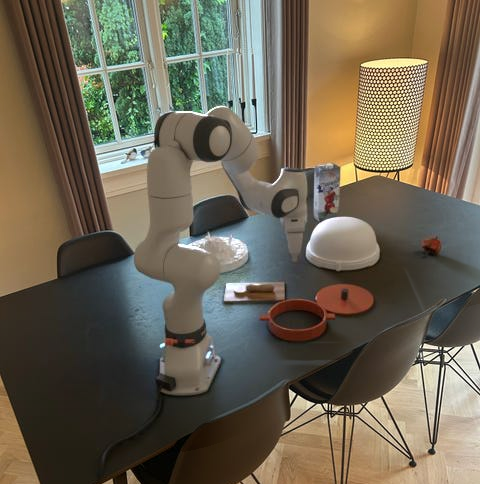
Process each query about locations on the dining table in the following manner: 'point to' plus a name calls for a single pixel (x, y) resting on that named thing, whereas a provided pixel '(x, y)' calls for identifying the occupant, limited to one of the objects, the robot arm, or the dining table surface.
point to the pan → (297, 305)
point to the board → (255, 293)
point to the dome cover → (343, 244)
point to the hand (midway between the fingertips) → (293, 254)
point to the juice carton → (326, 191)
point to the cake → (224, 251)
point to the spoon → (253, 288)
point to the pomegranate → (431, 246)
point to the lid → (345, 299)
